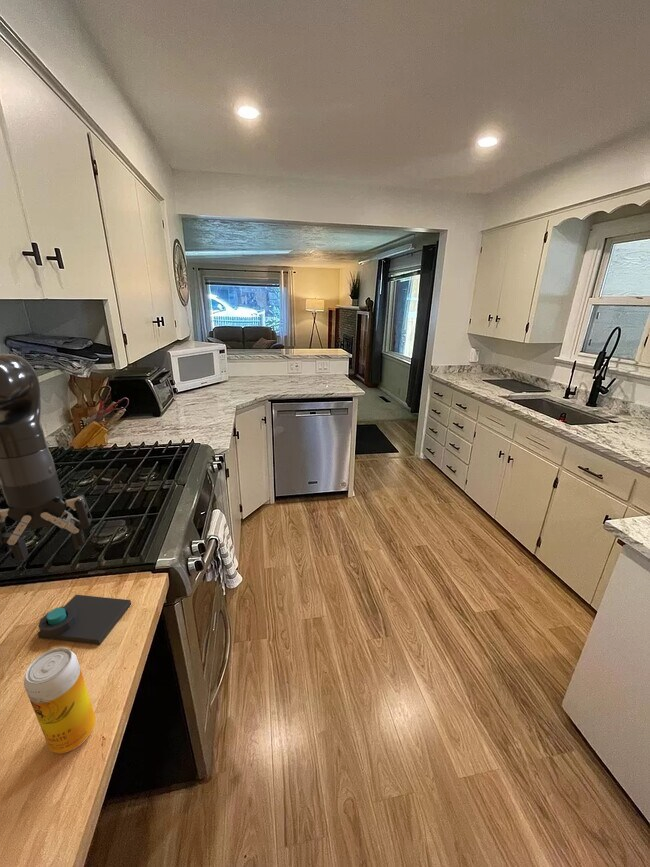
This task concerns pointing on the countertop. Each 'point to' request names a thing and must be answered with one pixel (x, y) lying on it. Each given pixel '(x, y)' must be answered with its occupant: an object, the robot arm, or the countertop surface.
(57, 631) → the scale
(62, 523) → the robot arm
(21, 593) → the countertop surface
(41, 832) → the countertop surface
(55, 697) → the beer can
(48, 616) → the button
